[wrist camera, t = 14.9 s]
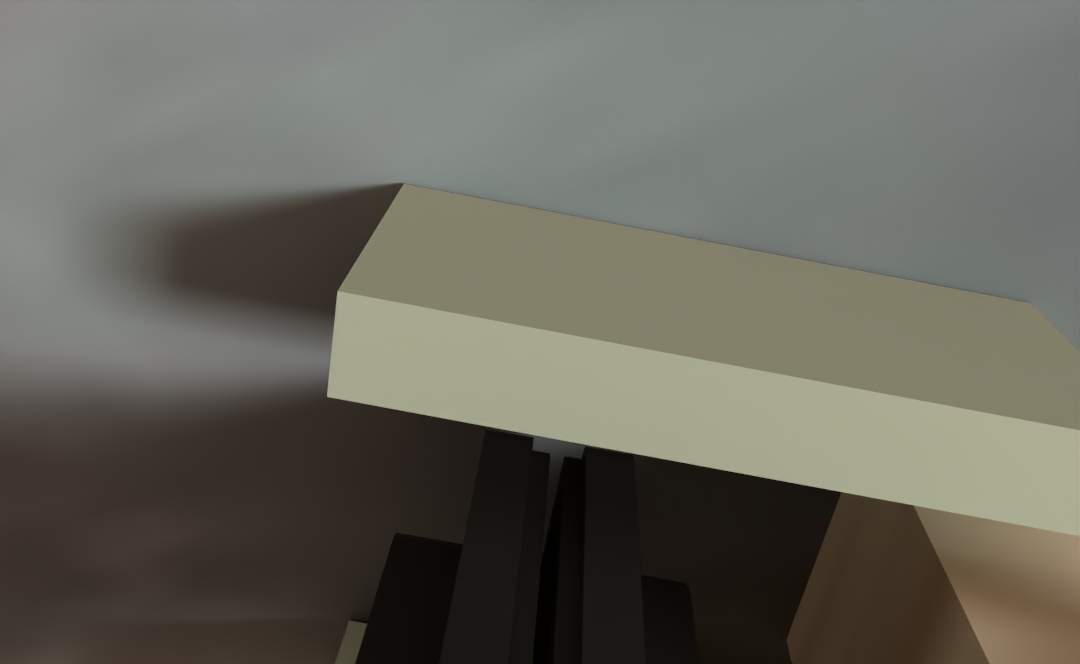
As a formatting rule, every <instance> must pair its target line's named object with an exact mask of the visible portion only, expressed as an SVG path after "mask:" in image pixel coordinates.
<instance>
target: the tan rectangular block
mask: <svg viewBox="0 0 1080 664" xmlns="http://www.w3.org/2000/svg"><path fill="white" fill-rule="evenodd" d="M786 641H787V645H788V650H789V654H790V658H791V662H792V664H1080V536H1077V535H1071V534H1066V533H1060V532H1055V531H1050V530H1044V529H1039V528H1033V527H1028V526H1023V525H1017V524H1012V523H1006V522H1001V521H996V520H990V519H985V518H979V517H974V516H969V515H963V514H958V513H952V512H947V511H941V510H936V509H931V508H925V507H920V506H914V505H909V504H904V503H898V502H893V501H887V500H882V499H877V498H871V497H866V496H860V495H855V494H850V493H844V492H841V495H840V498H839V500H838V503H837V506H836V508H835V511H834V514H833V516H832V519H831V522H830V524H829V527H828V530H827V532H826V535H825V538H824V541H823V543H822V546H821V549H820V551H819V554H818V557H817V559H816V562H815V565H814V567H813V570H812V573H811V575H810V578H809V581H808V583H807V586H806V589H805V591H804V594H803V597H802V599H801V602H800V605H799V607H798V610H797V613H796V615H795V618H794V621H793V623H792V626H791V629H790V631H789V634H788V637H787V639H786Z"/></svg>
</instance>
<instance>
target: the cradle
mask: <svg viewBox="0 0 1080 664" xmlns="http://www.w3.org/2000/svg"><path fill="white" fill-rule="evenodd" d="M327 397H331V398H336V399H341V400H347V401H352V402H358V403H363V404H368V405H374V406H379V407H385V408H390V409H396V410H401V411H406V412H412V413H417V414H423V415H428V416H433V417H439V418H444V419H450V420H455V421H460V422H466V423H471V424H477V425H482V426H487V427H493V428H498V429H504V430H509V431H514V432H520V433H525V434H531V435H536V436H541V437H547V438H552V439H558V440H563V441H568V442H574V443H579V444H585V445H590V446H596V447H601V448H606V449H612V450H617V451H623V452H628V453H633V454H639V455H644V456H650V457H655V458H660V459H666V460H671V461H677V462H682V463H687V464H693V465H698V466H704V467H709V468H714V469H720V470H725V471H731V472H736V473H741V474H747V475H752V476H758V477H763V478H769V479H774V480H779V481H785V482H790V483H796V484H801V485H806V486H812V487H817V488H823V489H828V490H833V491H839V492H844V493H850V494H855V495H860V496H866V497H871V498H877V499H882V500H887V501H893V502H898V503H904V504H909V505H914V506H920V507H925V508H931V509H936V510H941V511H947V512H952V513H958V514H963V515H969V516H974V517H979V518H985V519H990V520H996V521H1001V522H1006V523H1012V524H1017V525H1023V526H1028V527H1033V528H1039V529H1044V530H1050V531H1055V532H1060V533H1066V534H1071V535H1077V536H1080V353H1079V352H1078V351H1077V350H1076V349H1075V348H1074V347H1073V346H1072V345H1071V344H1070V343H1069V342H1068V341H1067V340H1066V339H1065V338H1064V337H1063V336H1062V335H1061V334H1060V333H1059V332H1058V331H1057V330H1056V329H1055V327H1054V326H1053V325H1052V324H1051V323H1050V322H1049V321H1048V320H1047V319H1046V318H1045V317H1044V316H1043V315H1042V314H1041V313H1040V312H1039V311H1038V310H1037V309H1036V308H1035V307H1034V306H1033V305H1032V304H1031V303H1027V302H1022V301H1017V300H1011V299H1006V298H1001V297H996V296H990V295H985V294H980V293H975V292H969V291H964V290H959V289H954V288H948V287H943V286H938V285H933V284H928V283H922V282H917V281H912V280H907V279H901V278H896V277H891V276H886V275H880V274H875V273H870V272H865V271H859V270H854V269H849V268H844V267H838V266H833V265H828V264H823V263H817V262H812V261H807V260H802V259H796V258H791V257H786V256H781V255H775V254H770V253H765V252H760V251H754V250H749V249H744V248H739V247H734V246H728V245H723V244H718V243H713V242H707V241H702V240H697V239H692V238H686V237H681V236H676V235H671V234H665V233H660V232H655V231H650V230H644V229H639V228H634V227H629V226H623V225H618V224H613V223H608V222H602V221H597V220H592V219H587V218H581V217H576V216H571V215H566V214H560V213H555V212H550V211H545V210H539V209H534V208H529V207H524V206H519V205H513V204H508V203H503V202H498V201H492V200H487V199H482V198H477V197H471V196H466V195H461V194H456V193H450V192H445V191H440V190H435V189H429V188H424V187H419V186H414V185H408V184H403V186H402V188H401V189H400V191H399V192H398V194H397V196H396V197H395V199H394V200H393V202H392V204H391V205H390V207H389V209H388V210H387V212H386V213H385V215H384V217H383V218H382V220H381V222H380V223H379V225H378V226H377V228H376V230H375V231H374V233H373V234H372V236H371V238H370V239H369V241H368V243H367V244H366V246H365V247H364V249H363V251H362V252H361V254H360V256H359V257H358V259H357V260H356V262H355V264H354V265H353V267H352V269H351V270H350V272H349V273H348V275H347V277H346V278H345V280H344V281H343V283H342V285H341V286H340V288H339V290H338V291H337V301H336V311H335V321H334V331H333V341H332V351H331V361H330V371H329V381H328V391H327ZM366 626H367V624H366V623H361V622H355V621H350V620H349V622H348V625H347V628H346V631H345V634H344V637H343V640H342V643H341V646H340V649H339V652H338V655H337V658H336V661H335V664H355V662H356V659H357V656H358V652H359V649H360V646H361V642H362V639H363V636H364V633H365V629H366Z"/></svg>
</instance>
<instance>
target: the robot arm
mask: <svg viewBox="0 0 1080 664" xmlns="http://www.w3.org/2000/svg"><path fill="white" fill-rule="evenodd" d="M532 447H533V438H532V437H527V436H521V435H515V434H510V433H504V432H498V431H493V430H487V429H486V433H485V437H484V442H483V447H482V452H481V457H480V462H479V467H478V472H477V477H476V482H475V487H474V492H473V497H472V502H471V507H470V512H469V517H468V522H467V527H466V532H465V537H464V542H463V544H458V543H452V542H446V541H440V540H435V539H429V538H423V537H417V536H412V535H406V534H400V533H396V535H395V536H394V539H393V542H392V544H391V548H390V551H389V554H388V557H387V561H386V564H385V567H384V570H383V574H382V577H381V580H380V584H379V587H378V590H377V593H376V597H375V600H374V603H373V606H372V610H371V613H370V616H369V620H368V623H367V626H366V629H365V633H364V636H363V639H362V642H361V646H360V649H359V652H358V656H357V659H356V662H355V664H699V659H698V651H697V642H696V634H695V626H694V618H693V610H692V601H691V595H690V590H689V587H688V586H687V584H686V583H683V582H677V581H672V580H666V579H660V578H654V577H648V576H643V575H641V567H640V549H639V531H638V513H637V495H636V477H635V461H634V456H633V455H629V454H623V453H618V452H612V451H606V450H601V449H595V448H589V447H585V449H584V452H583V455H582V459H578V458H572V457H566V456H565V457H564V460H563V464H562V468H561V473H560V478H559V482H558V487H557V492H556V496H555V501H554V506H553V510H552V515H551V520H550V524H549V529H548V534H547V538H546V543H545V548H544V552H543V557H542V545H543V533H544V521H545V510H546V498H547V486H548V474H549V463H550V454H549V453H544V452H538V451H532ZM541 557H542V562H541Z"/></svg>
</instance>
